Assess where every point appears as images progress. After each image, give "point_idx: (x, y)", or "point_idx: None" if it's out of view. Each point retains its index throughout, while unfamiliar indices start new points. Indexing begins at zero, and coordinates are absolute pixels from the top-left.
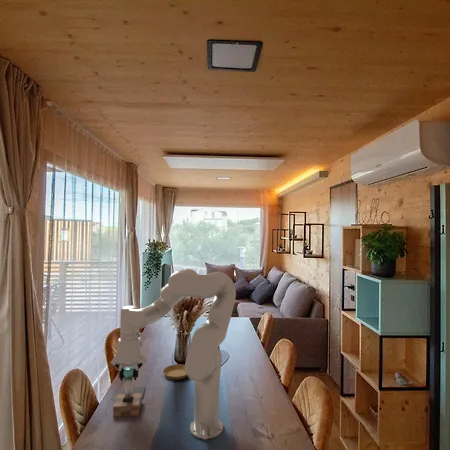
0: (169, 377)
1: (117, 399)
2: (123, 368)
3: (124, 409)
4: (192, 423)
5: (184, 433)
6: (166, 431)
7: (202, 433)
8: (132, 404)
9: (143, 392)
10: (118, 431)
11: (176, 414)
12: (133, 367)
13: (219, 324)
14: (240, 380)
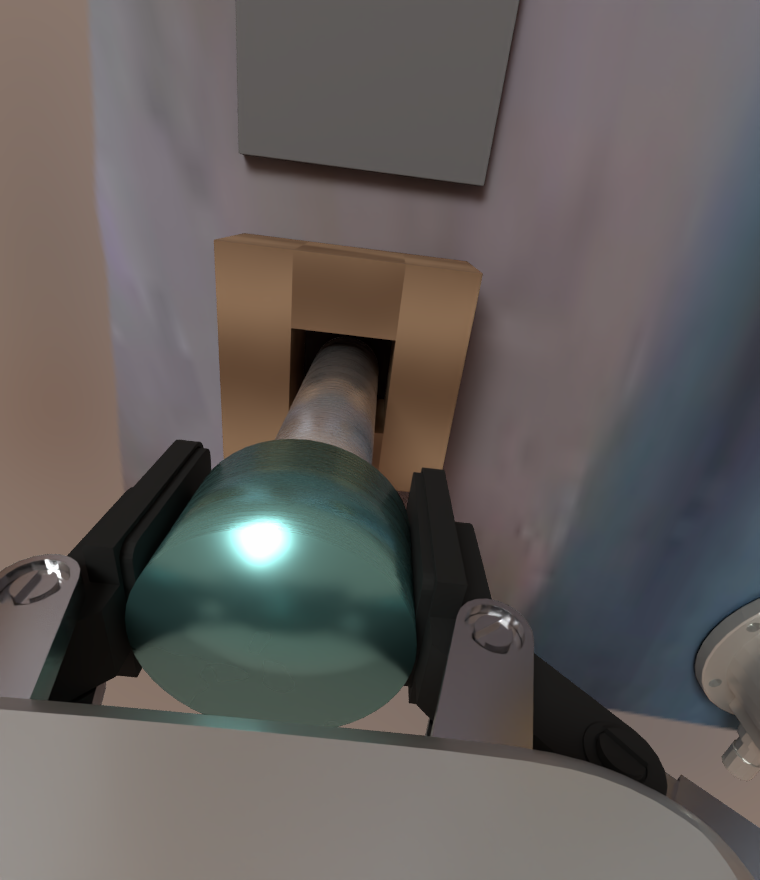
0: None
1: (232, 359)
2: (130, 601)
3: None
4: (740, 634)
5: (660, 653)
6: (575, 625)
7: (738, 763)
8: (385, 473)
9: (507, 50)
10: None
11: (693, 497)
12: (377, 600)
13: None
14: None
